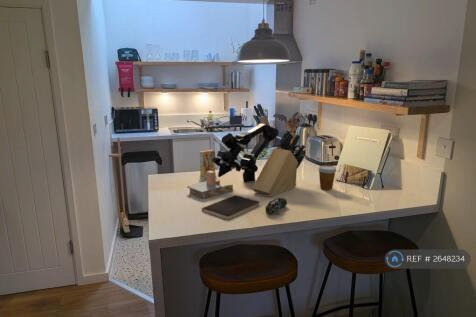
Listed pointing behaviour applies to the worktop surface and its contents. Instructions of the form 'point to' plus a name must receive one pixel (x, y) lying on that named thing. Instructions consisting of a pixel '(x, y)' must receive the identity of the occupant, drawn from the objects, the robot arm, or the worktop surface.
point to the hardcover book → (231, 206)
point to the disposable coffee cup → (326, 177)
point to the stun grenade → (275, 205)
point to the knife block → (280, 167)
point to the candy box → (206, 161)
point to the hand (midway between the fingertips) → (218, 176)
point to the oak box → (213, 191)
